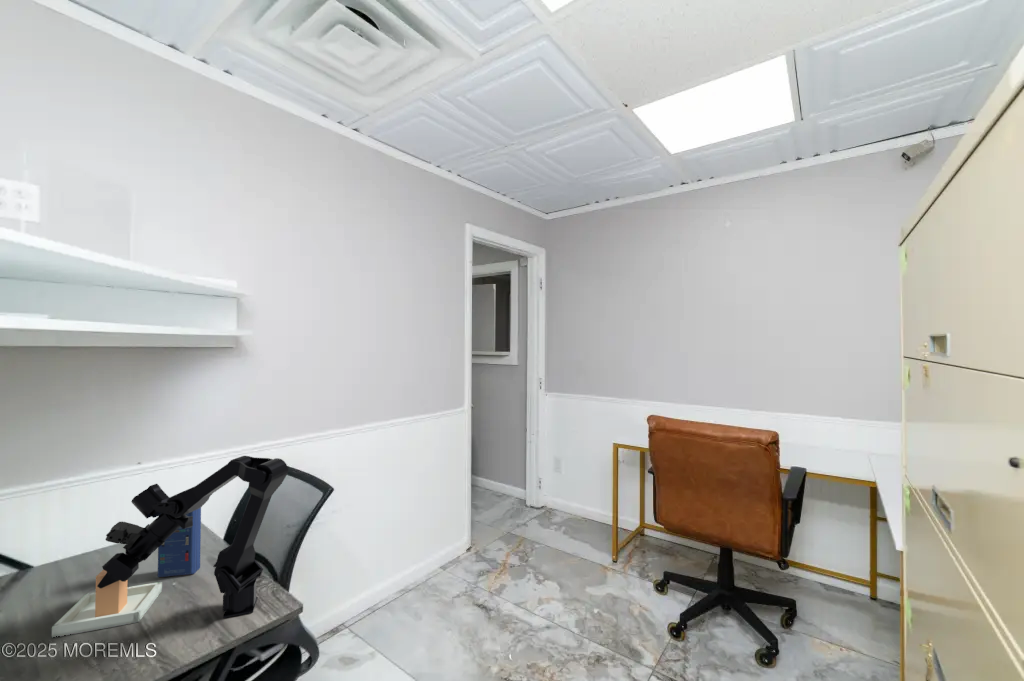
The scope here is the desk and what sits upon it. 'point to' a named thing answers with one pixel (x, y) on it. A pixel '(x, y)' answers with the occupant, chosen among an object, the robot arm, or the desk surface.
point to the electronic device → (181, 550)
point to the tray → (85, 620)
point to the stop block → (110, 596)
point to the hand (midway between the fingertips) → (105, 581)
